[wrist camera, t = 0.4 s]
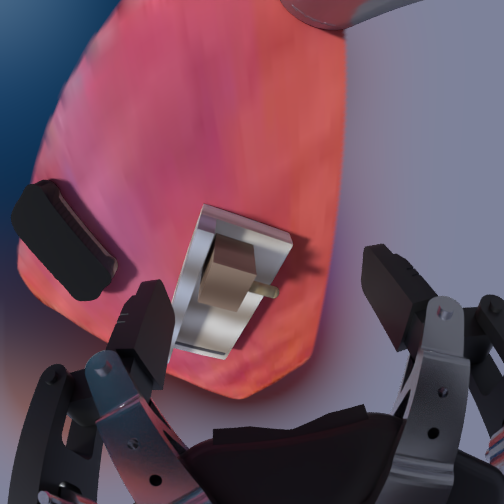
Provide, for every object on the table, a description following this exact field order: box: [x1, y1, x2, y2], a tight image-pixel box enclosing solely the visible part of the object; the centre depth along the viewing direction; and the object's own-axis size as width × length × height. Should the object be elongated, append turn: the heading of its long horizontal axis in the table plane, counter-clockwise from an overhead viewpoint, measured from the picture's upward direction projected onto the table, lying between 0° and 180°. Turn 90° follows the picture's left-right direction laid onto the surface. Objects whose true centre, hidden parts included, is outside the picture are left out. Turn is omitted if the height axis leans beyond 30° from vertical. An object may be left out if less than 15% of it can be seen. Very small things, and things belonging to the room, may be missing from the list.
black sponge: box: [11, 180, 118, 301], centre depth 28 cm, size 16×8×4 cm, turn 29°
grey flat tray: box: [168, 204, 293, 363], centre depth 32 cm, size 22×10×6 cm, turn 157°
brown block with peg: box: [198, 233, 279, 312], centre depth 27 cm, size 5×8×5 cm, turn 68°
